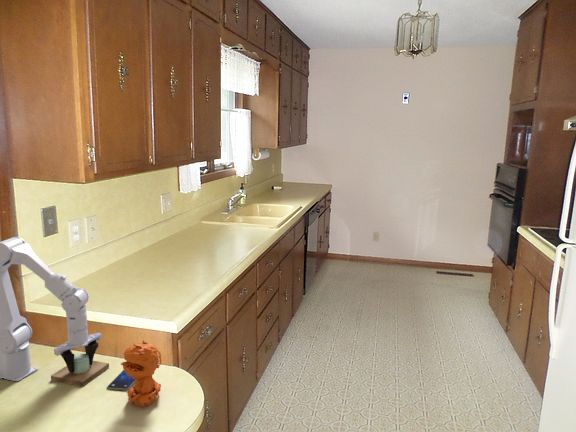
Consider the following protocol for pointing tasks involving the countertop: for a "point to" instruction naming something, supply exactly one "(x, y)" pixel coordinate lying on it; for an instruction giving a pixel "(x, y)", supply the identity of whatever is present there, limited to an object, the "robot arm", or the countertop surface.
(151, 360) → the toy dinosaur
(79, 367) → the cap
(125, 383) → the smartphone
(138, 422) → the countertop surface
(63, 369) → the stub block
